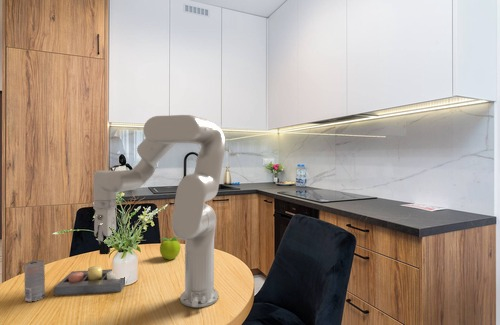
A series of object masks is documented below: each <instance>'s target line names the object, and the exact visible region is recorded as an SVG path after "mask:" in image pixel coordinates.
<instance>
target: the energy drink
mask: <svg viewBox="0 0 500 325" xmlns="http://www.w3.org/2000/svg"><path fill="white" fill-rule="evenodd" d="M45 273H46V271H45V262H44V260H42V259H40V260H39V259H38V260H36V259H35V260H32V261H28V262H26V263H25V265H24V301H25V302H26V301H28V302H27V303H33V302H32V301H35V302H38V301H37V300H39V301H41V300H43V299H44V298H45V296H46V294H45V293H46V292H45V291H46V289H45V287H46V285H45V282H46V281H45V280H46V279H45V277H46V276H45V275H46V274H45ZM43 297H44V298H43ZM42 298H43V299H42ZM40 299H41V300H40Z"/></svg>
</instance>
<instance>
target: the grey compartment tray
mask: <svg viewBox="0 0 500 325" xmlns="http://www.w3.org/2000/svg"><path fill="white" fill-rule="evenodd" d="M110 271H112V269H102V279H101V280H96V281H88V270H74V271H73V270H72V271H71V272H69V273H68V274H67V275H66V276H65V277H64V278H63V279H61V280H60V281H59V282H58V283H57V284H56V285H55V286H53V296H54V295H64V296H77V295H78V294H79V295H91V294H107V293H121V292H122V290H123V289H124V287H125V285H126V284H125V277H124V278H120V279H113V280H107V273H108V272H110ZM76 272H82V273H83V280H82V281H78V282H69V275H70V274H72V273H76Z"/></svg>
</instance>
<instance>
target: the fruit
mask: <svg viewBox="0 0 500 325" xmlns="http://www.w3.org/2000/svg"><path fill="white" fill-rule="evenodd" d="M177 239H179V238H178V237H177V236H175V237H172V238H171V237H169V238H167V237H161V238H160V240H162V241H161V243H160V246H159V253H160V255H161V256H162V257H163V259H165V260H169V261H170V260H174V259H176V258H177V257H178V255H179V254H180V251H181V243H180V242H179V241H178V240H177Z"/></svg>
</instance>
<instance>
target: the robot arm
mask: <svg viewBox="0 0 500 325" xmlns="http://www.w3.org/2000/svg"><path fill="white" fill-rule="evenodd" d="M143 125H144V126H143V128H142V130H143V131H142V132H143V135H144V137H145V138H144V139H143V140H142V142H141V143H140V144H138V146H137V147H136V151H137V154H138V155H139V157H140V158H141V159H140V161H139V162H138V163H137V164H136V165H135V166H134V167H133V168H132V169H127V170H97V171H95V172H94V173H93V206H92V207H93V210H94V221H93V222H94V224H93V226H94V228H93V229H94V232H93V234H94V236H95V238H97V242H98V245H99V247H98V248H99V252H98V253H99V255H109V254H110V253H111V246H110V247H108V246H107V244H104V242H103V241H104V240H105V239H107V237H109V236H110V235H111V236H112V235H113V234H114V233H112V231H111V230H110V229H109V227H110V228H112V229H115V230H116V231H117V216H116V215H117V214H116V209H117V193H123V192H127V191H133V190H137V189H139V188H141V187H143V185H145V184H146V183H147V182H148V180H150V179H151V178H152V176H153V175H154V173H155V172H156V169H157V164H158V162H159V161H160V160H161V159H162V158H163V157H164V156H165V155H166V154H167V153H168V152H169V151H170V149H172V147H174V146H175V145H176V144H177V143H179V144H181V143H184V144H198V145H200V146H201V147H200V150H199V152H198V155H197V157H196V164H195V167H194V168H195V169H194V172H192V173H189V174H187V175H185V176H183V178H182V179H181V180H180V181H179V183H178V185H177V188H176V192H175V199H174V204H173V210H172V216H171V228H172V232H173V234H174V236H175V237H178V239H180V240H182V241H185V243H184V244H185V245H184V291H182V293H180V297H179V300H180V303H181V304H182V305H184V306H186V307H188V308H204V307H208V306H211V305H213V304H214V303H216V302H217V301H218V300H219V292H218V290H216V289H215V283H214V282H215V235H216V226H217V214H216V212H215V210H214V209H213V207H212V206H211V205H209V204H207V203H206V202H209V201H211V200H213V199H214V198H215V197H216V196H217V194H218V192H219V188H220V180H221V175H222V170H223V162H224V157H225V152H226V137H225V134H224V131H222V129H221V128H220V127H219V126H218V125H217V124H215V122H213V121H211V120H208V119H206V118H202V117H198V116H195V115H191V114H177V115H173V114H172V115H155V116H152V117H150V118H148V119H147V120H146V122H145V123H144V124H143ZM95 215H97V216H95ZM100 216H101V217H100ZM100 223H103V224H102V225H99V224H100ZM101 235H102V236H101ZM111 236H110V237H111Z"/></svg>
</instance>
